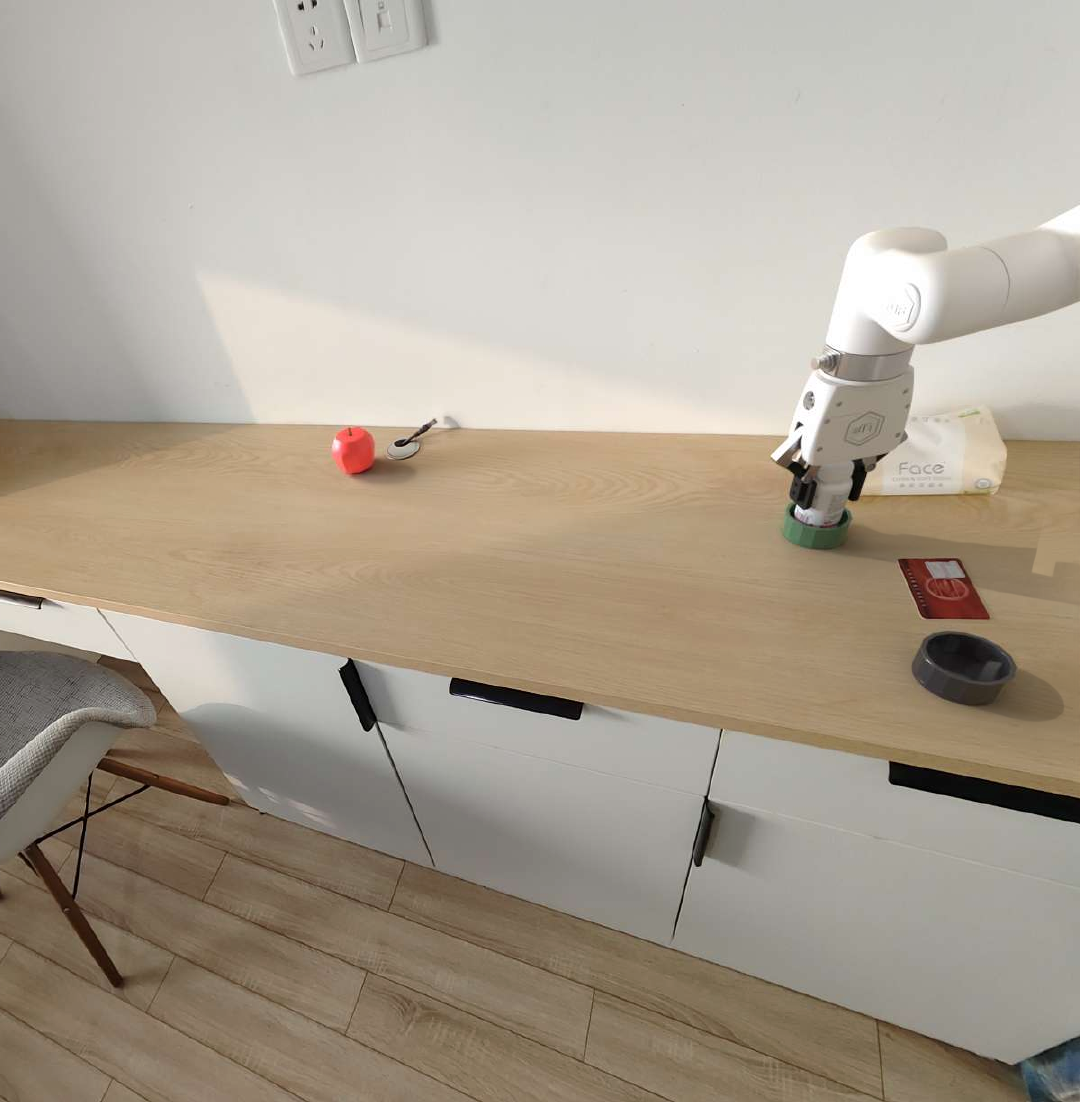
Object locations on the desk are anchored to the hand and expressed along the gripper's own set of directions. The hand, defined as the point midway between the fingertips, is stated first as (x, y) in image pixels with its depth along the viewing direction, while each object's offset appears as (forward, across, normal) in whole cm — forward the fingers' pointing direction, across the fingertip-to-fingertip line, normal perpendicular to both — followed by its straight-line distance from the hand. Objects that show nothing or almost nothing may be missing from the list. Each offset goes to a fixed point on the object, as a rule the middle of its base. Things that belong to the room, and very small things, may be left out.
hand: (823, 498), depth 80 cm
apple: (+5, -57, +38) cm, 69 cm away
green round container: (+5, 0, 0) cm, 5 cm away
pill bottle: (+4, 0, 0) cm, 4 cm away
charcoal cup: (+5, -1, -24) cm, 25 cm away
